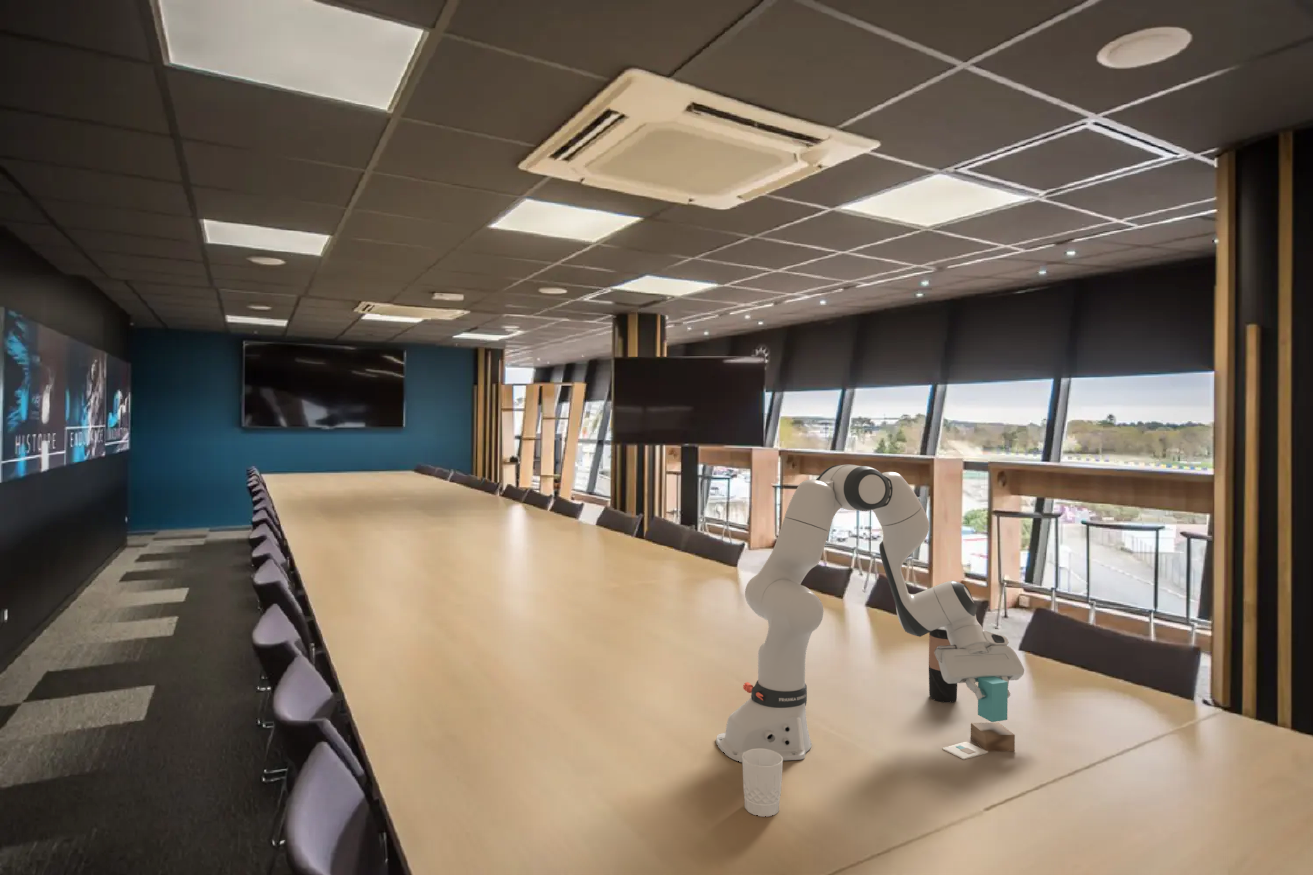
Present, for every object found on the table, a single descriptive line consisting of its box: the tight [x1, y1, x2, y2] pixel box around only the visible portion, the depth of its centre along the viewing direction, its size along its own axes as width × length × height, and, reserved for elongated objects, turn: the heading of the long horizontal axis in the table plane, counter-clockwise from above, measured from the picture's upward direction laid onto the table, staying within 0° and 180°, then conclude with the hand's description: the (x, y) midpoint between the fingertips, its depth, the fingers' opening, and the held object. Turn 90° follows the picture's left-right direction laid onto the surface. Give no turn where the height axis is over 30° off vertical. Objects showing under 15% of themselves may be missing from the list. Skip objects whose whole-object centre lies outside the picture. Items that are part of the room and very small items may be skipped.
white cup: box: [741, 749, 784, 818], centre depth 138 cm, size 8×8×10 cm
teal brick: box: [977, 677, 1009, 723], centre depth 168 cm, size 4×4×9 cm
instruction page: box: [942, 741, 989, 761], centre depth 164 cm, size 8×6×1 cm
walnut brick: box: [970, 722, 1016, 752], centre depth 168 cm, size 7×7×4 cm
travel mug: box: [928, 627, 958, 704], centre depth 197 cm, size 8×8×20 cm
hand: (994, 697), depth 167 cm, fingers closed on teal brick, 5 cm apart
